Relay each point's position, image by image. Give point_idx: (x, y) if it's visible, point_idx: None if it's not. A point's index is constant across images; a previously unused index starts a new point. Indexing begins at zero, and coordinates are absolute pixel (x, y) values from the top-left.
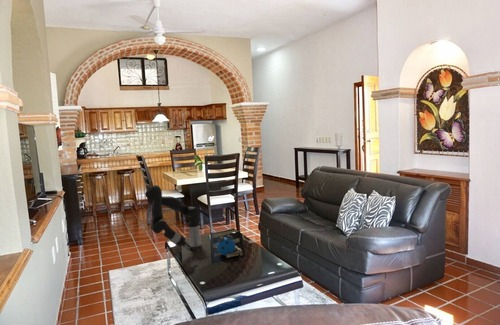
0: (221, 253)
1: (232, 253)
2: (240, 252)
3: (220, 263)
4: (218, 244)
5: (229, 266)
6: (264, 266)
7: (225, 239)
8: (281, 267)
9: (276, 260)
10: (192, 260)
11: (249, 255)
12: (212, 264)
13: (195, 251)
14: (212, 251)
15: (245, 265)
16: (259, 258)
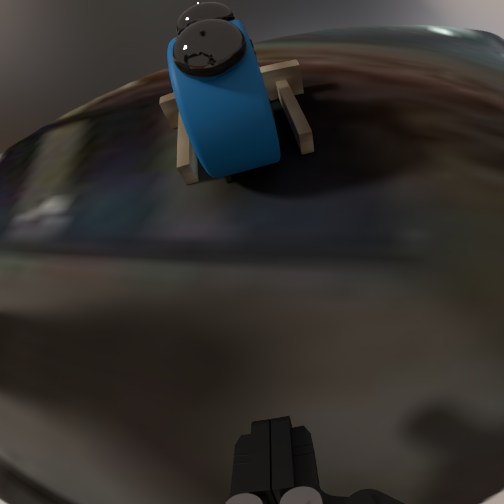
0: (279, 158)
1: (298, 105)
2: (300, 75)
3: (428, 199)
4: (221, 111)
5: (485, 156)
6: (471, 57)
7: (243, 28)
8: (473, 37)
9: (408, 27)
10: None
11: (319, 67)
12: (440, 261)
13: (292, 429)
14: (109, 248)
15: (466, 95)
16: (376, 49)
